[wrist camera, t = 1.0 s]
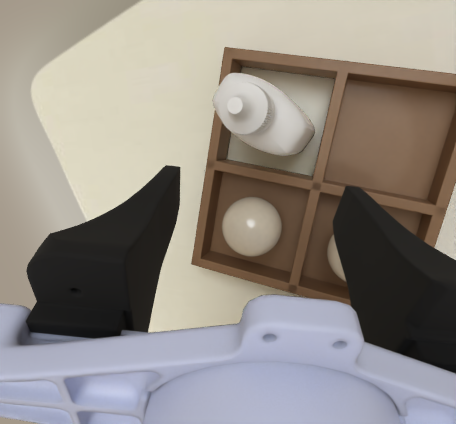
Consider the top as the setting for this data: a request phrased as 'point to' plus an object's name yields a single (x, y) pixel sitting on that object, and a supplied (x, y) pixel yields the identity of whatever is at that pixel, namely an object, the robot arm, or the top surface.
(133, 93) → the top surface
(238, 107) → the eye dropper bottle
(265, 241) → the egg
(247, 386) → the robot arm
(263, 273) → the wooden compartment tray
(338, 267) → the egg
